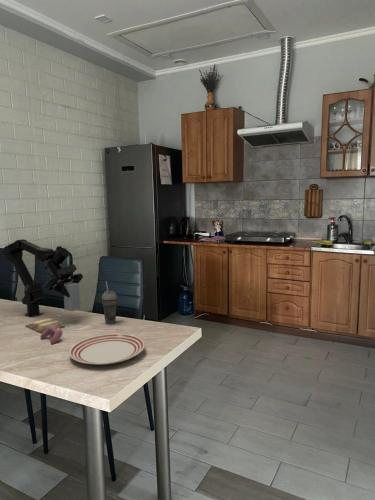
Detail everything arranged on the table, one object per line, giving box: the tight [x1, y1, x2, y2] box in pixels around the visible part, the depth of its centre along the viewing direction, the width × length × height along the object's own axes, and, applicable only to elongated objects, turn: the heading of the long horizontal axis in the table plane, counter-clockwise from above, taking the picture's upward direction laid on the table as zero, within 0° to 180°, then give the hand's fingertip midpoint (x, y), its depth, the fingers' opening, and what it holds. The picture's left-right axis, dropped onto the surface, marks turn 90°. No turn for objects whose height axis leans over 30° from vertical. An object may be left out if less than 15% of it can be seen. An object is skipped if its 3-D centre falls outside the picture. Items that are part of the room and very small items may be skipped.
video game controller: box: [39, 325, 63, 345], centre depth 155 cm, size 10×5×7 cm, turn 47°
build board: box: [25, 317, 65, 334], centre depth 172 cm, size 15×11×3 cm
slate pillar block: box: [63, 283, 81, 312], centre depth 176 cm, size 5×5×12 cm
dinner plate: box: [68, 333, 146, 366], centre depth 140 cm, size 27×27×3 cm
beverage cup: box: [101, 280, 118, 325], centre depth 176 cm, size 7×7×20 cm
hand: (73, 295), depth 175 cm, fingers closed on slate pillar block, 5 cm apart
